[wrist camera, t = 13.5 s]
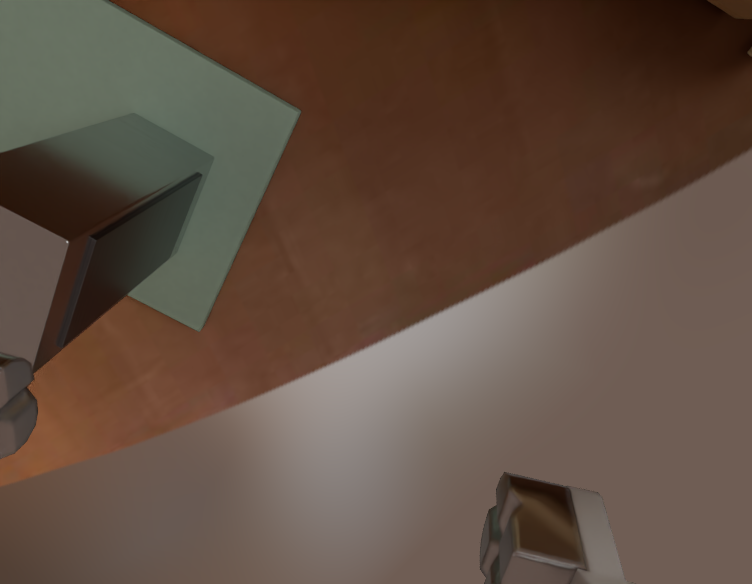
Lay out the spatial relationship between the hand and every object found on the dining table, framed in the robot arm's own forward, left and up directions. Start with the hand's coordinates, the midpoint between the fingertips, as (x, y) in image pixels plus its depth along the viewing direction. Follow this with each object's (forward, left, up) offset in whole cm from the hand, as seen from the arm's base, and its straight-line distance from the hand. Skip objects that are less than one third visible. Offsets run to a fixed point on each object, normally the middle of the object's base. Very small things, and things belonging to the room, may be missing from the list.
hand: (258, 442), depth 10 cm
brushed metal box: (+10, +7, -20) cm, 23 cm away
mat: (+15, +7, -21) cm, 26 cm away
